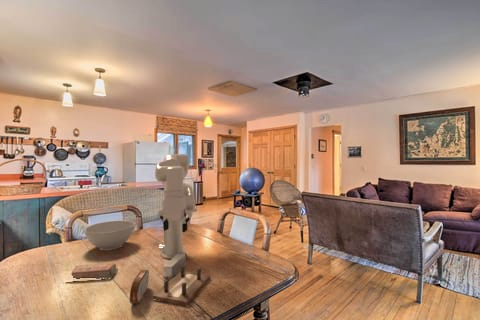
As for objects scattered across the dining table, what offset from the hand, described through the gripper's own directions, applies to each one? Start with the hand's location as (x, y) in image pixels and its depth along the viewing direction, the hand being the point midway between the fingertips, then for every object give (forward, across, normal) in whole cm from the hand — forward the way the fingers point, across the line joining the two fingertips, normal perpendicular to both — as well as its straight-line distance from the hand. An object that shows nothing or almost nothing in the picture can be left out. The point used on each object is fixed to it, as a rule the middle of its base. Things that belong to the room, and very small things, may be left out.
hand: (175, 230), depth 113 cm
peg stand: (+18, +12, -13) cm, 25 cm away
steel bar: (+19, 0, 0) cm, 19 cm away
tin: (+19, -1, -23) cm, 29 cm away
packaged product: (+19, -33, -15) cm, 41 cm away
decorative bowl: (+19, -53, +17) cm, 59 cm away
